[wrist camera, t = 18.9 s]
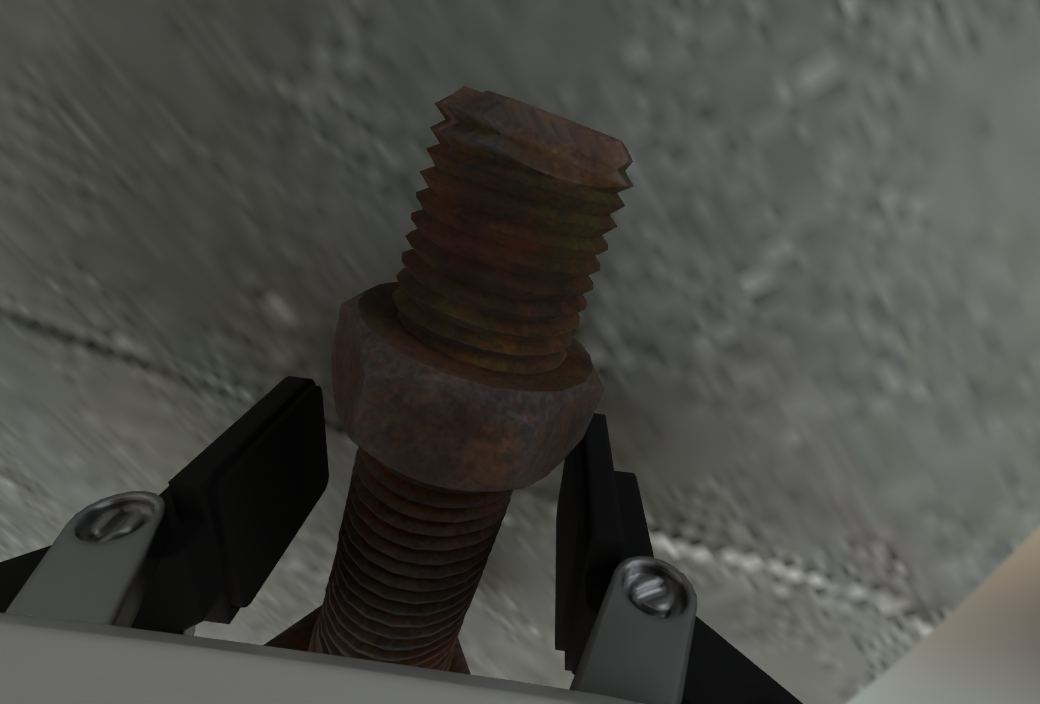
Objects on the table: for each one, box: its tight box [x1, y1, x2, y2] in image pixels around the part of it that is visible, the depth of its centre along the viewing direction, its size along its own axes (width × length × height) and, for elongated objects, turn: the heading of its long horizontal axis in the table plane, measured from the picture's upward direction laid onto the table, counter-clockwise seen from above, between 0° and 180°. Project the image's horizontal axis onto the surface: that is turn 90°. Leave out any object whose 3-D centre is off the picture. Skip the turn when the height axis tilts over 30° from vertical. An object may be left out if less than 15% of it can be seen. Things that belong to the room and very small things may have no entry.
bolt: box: [263, 86, 633, 675], centre depth 10 cm, size 6×5×15 cm
